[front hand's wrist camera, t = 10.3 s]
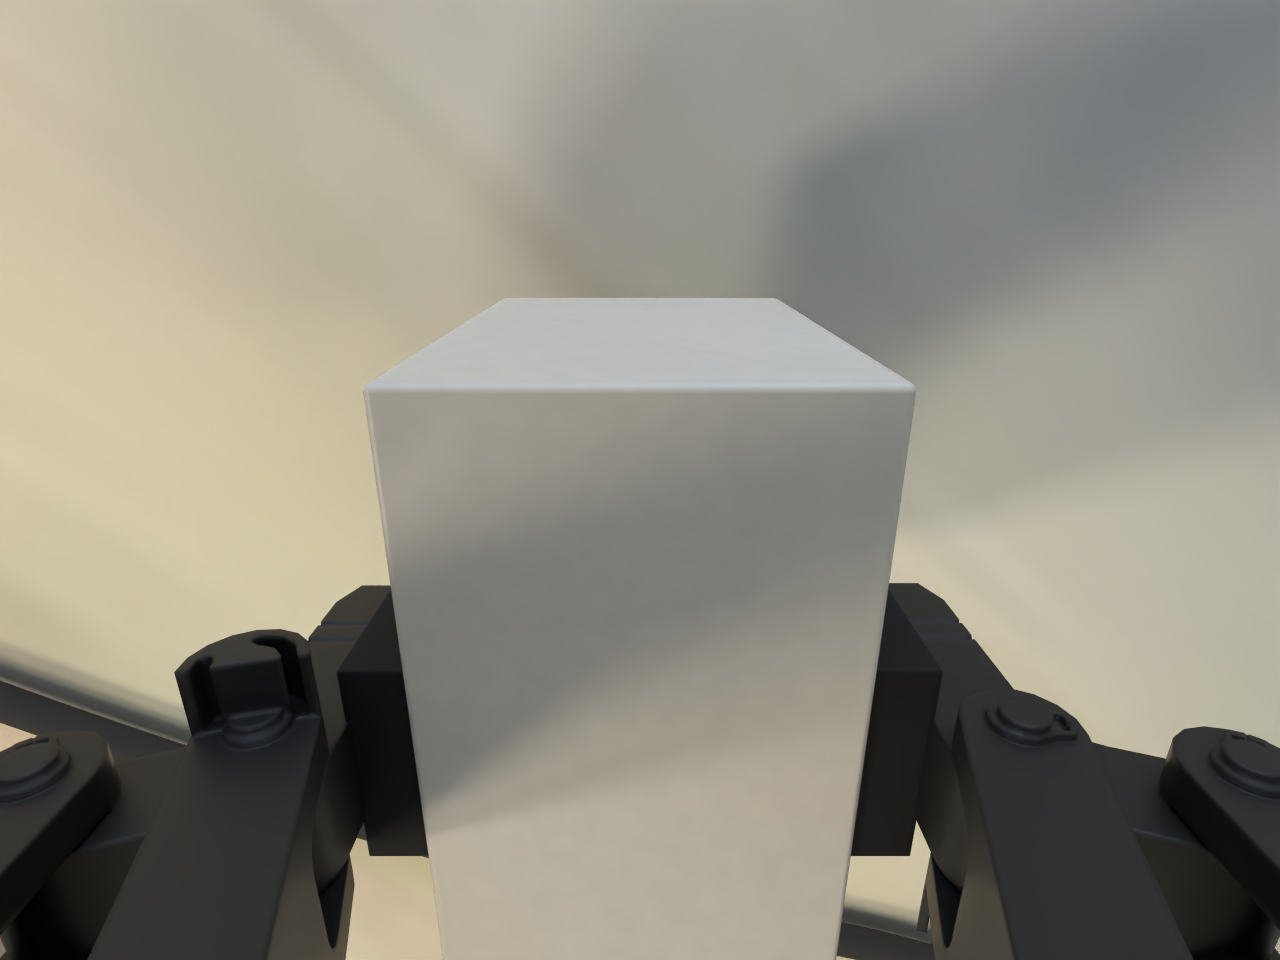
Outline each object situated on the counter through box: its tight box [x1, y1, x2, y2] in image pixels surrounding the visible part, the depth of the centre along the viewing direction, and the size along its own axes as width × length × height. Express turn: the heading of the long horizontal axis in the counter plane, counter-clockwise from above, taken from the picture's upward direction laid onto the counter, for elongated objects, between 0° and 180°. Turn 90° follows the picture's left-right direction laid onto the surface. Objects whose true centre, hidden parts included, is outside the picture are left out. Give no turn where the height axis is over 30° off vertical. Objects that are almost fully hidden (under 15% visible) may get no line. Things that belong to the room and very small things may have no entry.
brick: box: [363, 298, 916, 960], centre depth 11 cm, size 9×5×7 cm, turn 0°
